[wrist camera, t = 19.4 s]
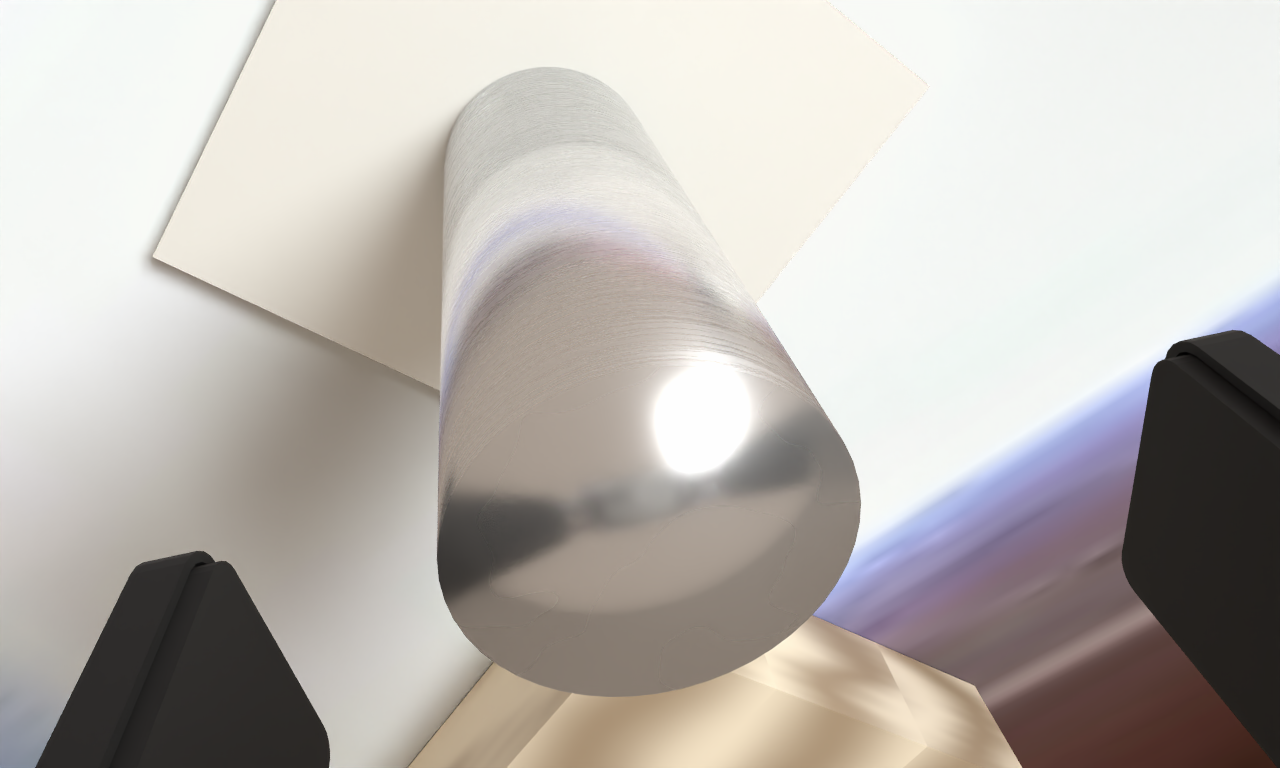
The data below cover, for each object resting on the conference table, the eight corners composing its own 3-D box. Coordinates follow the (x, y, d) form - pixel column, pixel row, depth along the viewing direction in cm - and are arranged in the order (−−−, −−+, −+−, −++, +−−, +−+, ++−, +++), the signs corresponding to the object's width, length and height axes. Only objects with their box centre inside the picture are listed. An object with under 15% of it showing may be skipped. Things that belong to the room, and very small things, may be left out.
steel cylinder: (634, 47, 18) (857, 320, 8) (663, 245, 21) (863, 644, 11) (418, 90, 18) (378, 426, 8) (473, 286, 20) (494, 735, 10)
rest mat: (918, 79, 20) (930, 86, 20) (616, 461, 25) (619, 474, 24) (434, -322, 15) (434, -327, 15) (160, 245, 20) (152, 256, 19)
